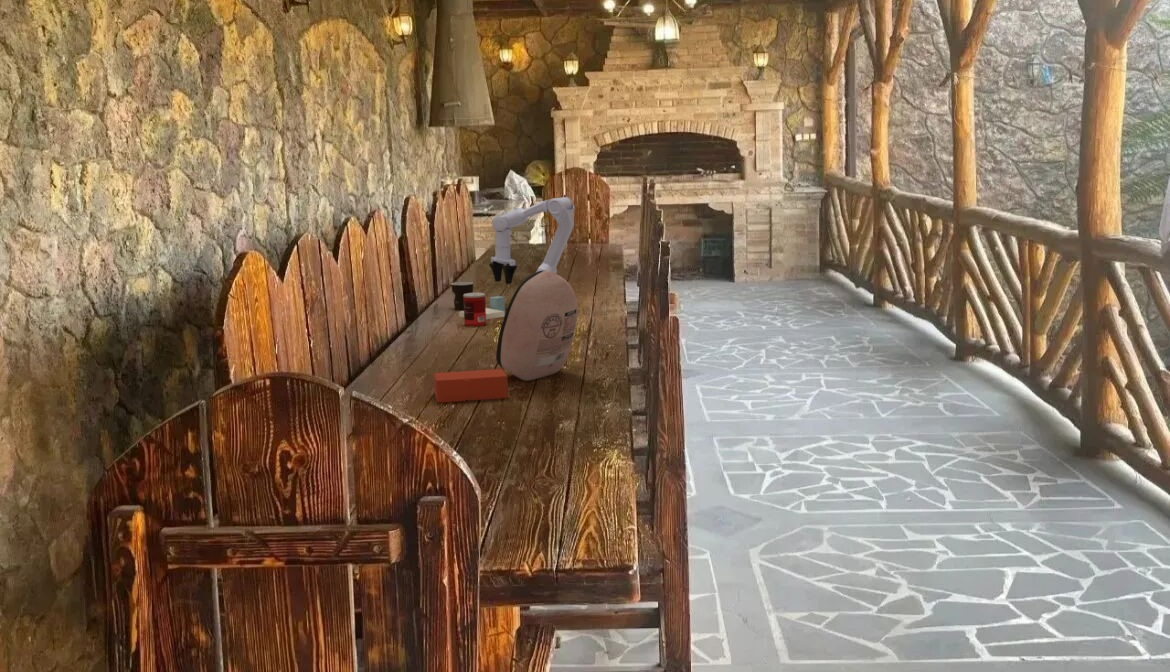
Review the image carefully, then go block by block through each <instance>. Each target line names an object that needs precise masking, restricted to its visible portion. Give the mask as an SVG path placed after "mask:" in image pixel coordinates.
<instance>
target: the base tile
mask: <svg viewBox="0 0 1170 672" xmlns="http://www.w3.org/2000/svg"><path fill="white" fill-rule="evenodd" d="M505 313H506V312H505ZM505 313H504V311H500V310H495V309H490V307H488V308H487V307H486V320H491V319H492V320H493V319H497V318H498V319H499V318H504V316H505ZM458 317H459V318H463V319H464V310H459V311H458Z"/></svg>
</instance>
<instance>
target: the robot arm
mask: <svg viewBox="0 0 1170 672" xmlns="http://www.w3.org/2000/svg"><path fill="white" fill-rule="evenodd" d="M575 207H576V206H575V205H574V203H573V201H572V199H571V198H570V197H569V196H562V197H557V198H556V197H553V198H551V199H546V200H542V201H540V202H538V203H536V204H534V205H532V206H530V207H527V208H522V207H518V206H517V207H514V208H513V210H511V211H509V212H507V211H506V212H504V213H503V214H501V215H497V216H495V217H494V218H493V219H492V223H491V225H492V228H493V229H494V245H495V246H494V248H495V250H494V251H495V256H491V257H490V262H491V263H488V264H489V267H490V270H491V271H492V274H493V277H494V280H495V282H501V281H502V274H504V281H505V284H506V285H509V284H510V285H511V284H512V282H513V277H514V275H515V271H516V270H517V268H518V265H516V260H514V259H512V258H511V229H512V228H514V227H517V226H520V225H521V224H524V223H526V222H527V220H528V219H529V217H532V216H535V215H539V214H541V213H544V212H545V213H549V214H550V215H551V216H552V217H553V219H554V220H555V221H556V223H557V225H558V226H557V227H556V228H557V229H556V231H555V233H554V235H553V238H552V241H551V243H550V245H549V247H548V249H547V252H546V254H545V257H544V259H543V261H542V263H541V264H540V266H538V268H537V270H536V272H538V271H550V272H553V273H555V274H557V273H558V270H557V269H558V268H557V266H558V264H559V262H560V260H561V256H562V255H563V252H564V250H565V248H566V245H567V242H568V241H569V239H570V236H571V234H572V231H573V229H574V226H575V216H574V214H575V213H574V212H575ZM536 272H535V273H536Z"/></svg>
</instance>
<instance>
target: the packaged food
mask: <svg viewBox="0 0 1170 672" xmlns="http://www.w3.org/2000/svg"><path fill="white" fill-rule="evenodd" d="M578 306H579V305H578V301H577V296H576V293H575V290H574V288H573V287H572V286H571V284H570V283H569V282H568V281H567V280H566V279H565V278H564V277H562V276H561V275H559V274H557V273H556V274H555V273H553V272H550V271H538V272H533V273H532V274H530V275H529V276H527V277H526V278H525V279H524V280H523V281H522V282H521V283H520V284H519V285H518V287H517V288H516V290H515V291H514V293H513V295H512V297H511V299H510V301H509V303H508V305H507V307H506V309H505V316H504V317H503V320H502V323H501V327H500V328H499V329H500V330H499V335H498V338H497V345H496V353H495V360H496V363H497V364H498V366H499V367H501V369H503V370H505V371H507V372H508V373H510V374H512V375H513V376H515V377H517V378H518V379H521V380H522V381H524V382H525V381H526V382H528V381H533V380H537V379H542V378H544V377H548V376H552V375H554V374H557V373H558V372H559V371H560V370H561V369H562V368H564V365H565V364H566V362H567V360H568V358H569V355H570V351H571V348H572V345H573V343H574V338H575V334H576V329H577V325H578V314H579V313H578V312H579V311H578V310H579V308H578Z"/></svg>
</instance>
